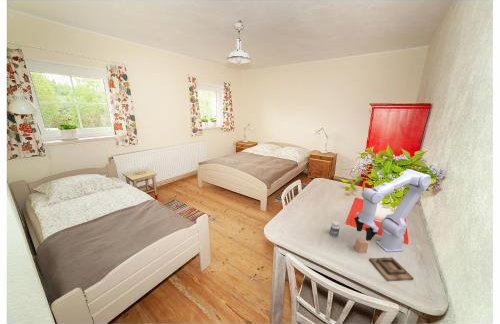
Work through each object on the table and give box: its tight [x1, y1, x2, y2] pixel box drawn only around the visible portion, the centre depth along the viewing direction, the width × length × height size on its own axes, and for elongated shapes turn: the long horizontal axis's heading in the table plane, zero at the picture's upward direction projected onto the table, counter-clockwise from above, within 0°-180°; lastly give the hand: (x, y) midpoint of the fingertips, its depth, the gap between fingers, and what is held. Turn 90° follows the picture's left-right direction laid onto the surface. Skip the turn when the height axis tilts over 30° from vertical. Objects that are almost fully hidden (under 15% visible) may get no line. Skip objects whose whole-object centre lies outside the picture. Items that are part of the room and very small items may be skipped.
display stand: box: [368, 256, 414, 282], centre depth 89 cm, size 12×12×3 cm
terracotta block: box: [354, 237, 369, 254], centre depth 101 cm, size 4×4×6 cm
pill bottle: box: [329, 220, 341, 238], centre depth 113 cm, size 5×5×8 cm
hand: (363, 235), depth 99 cm, fingers open, 7 cm apart
